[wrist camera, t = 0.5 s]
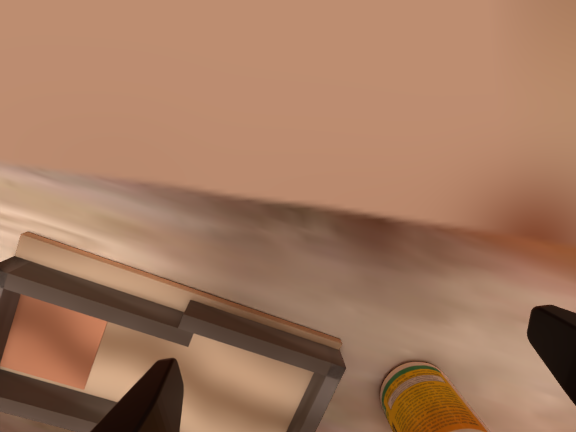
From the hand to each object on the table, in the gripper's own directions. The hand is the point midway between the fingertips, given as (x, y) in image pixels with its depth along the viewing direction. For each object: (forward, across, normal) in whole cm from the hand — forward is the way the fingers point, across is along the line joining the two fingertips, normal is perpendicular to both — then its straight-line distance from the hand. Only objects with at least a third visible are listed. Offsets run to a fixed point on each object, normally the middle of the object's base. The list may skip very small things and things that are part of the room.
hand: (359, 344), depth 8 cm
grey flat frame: (+13, +10, +11) cm, 20 cm away
